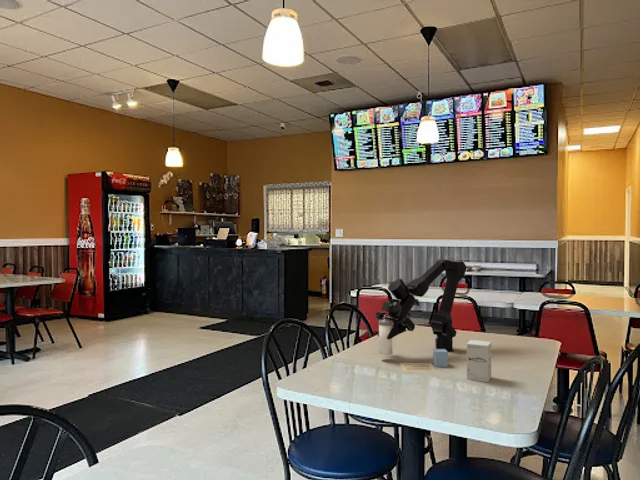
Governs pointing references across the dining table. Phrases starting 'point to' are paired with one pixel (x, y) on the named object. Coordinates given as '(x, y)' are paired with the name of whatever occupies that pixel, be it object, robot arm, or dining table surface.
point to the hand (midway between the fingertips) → (383, 337)
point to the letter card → (417, 367)
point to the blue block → (440, 357)
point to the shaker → (385, 337)
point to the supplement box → (479, 360)
